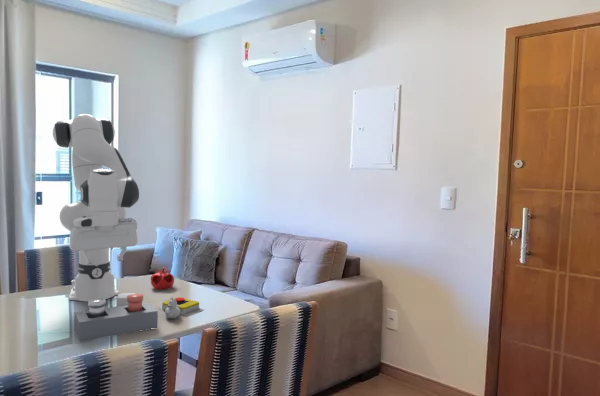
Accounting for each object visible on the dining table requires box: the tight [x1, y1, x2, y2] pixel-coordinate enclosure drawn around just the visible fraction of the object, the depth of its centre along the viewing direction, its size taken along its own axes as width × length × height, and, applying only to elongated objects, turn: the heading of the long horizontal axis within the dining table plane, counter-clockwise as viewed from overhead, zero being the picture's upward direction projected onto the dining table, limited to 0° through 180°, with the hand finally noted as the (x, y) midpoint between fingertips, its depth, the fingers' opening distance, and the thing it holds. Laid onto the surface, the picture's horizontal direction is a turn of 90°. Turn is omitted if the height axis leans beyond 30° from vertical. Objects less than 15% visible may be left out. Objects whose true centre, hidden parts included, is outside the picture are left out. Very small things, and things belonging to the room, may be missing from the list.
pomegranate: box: [150, 267, 175, 291], centre depth 208 cm, size 10×10×9 cm
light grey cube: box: [116, 292, 136, 307], centre depth 176 cm, size 6×6×6 cm
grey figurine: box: [164, 297, 180, 319], centre depth 170 cm, size 5×7×8 cm
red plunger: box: [127, 293, 144, 312], centre depth 159 cm, size 5×5×5 cm
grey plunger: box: [87, 298, 107, 318], centre depth 153 cm, size 5×5×5 cm
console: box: [73, 302, 159, 342], centre depth 157 cm, size 11×24×6 cm, turn 123°
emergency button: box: [161, 297, 204, 317], centre depth 180 cm, size 9×4×15 cm
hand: (104, 262), depth 153 cm, fingers open, 8 cm apart
